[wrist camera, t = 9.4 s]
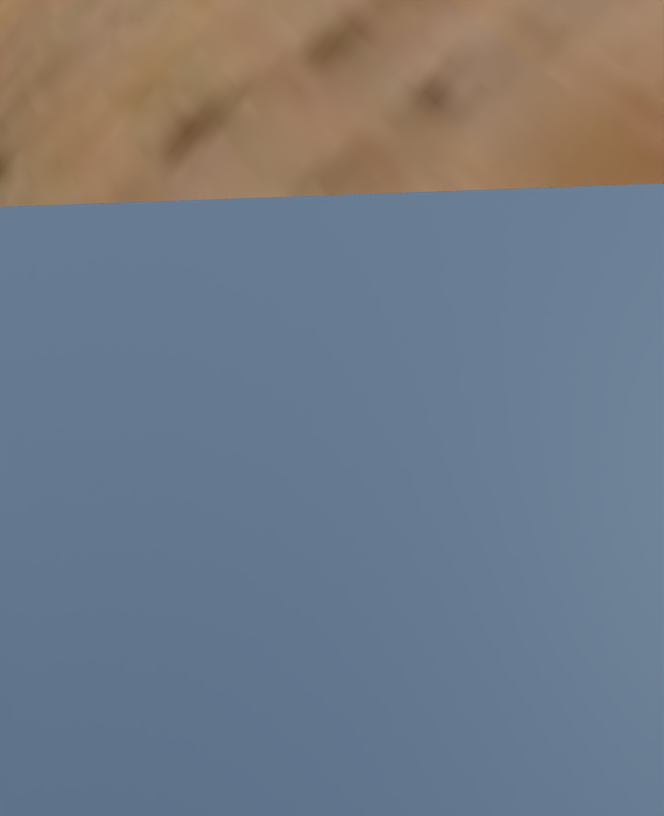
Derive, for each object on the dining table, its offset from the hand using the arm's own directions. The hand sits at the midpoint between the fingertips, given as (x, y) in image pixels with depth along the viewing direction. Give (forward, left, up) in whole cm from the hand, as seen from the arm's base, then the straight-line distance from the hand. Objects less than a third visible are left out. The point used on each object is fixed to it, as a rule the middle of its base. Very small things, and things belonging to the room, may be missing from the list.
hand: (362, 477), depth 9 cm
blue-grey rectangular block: (-1, -1, -7) cm, 7 cm away
